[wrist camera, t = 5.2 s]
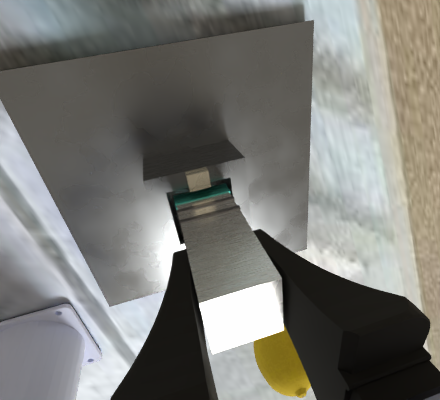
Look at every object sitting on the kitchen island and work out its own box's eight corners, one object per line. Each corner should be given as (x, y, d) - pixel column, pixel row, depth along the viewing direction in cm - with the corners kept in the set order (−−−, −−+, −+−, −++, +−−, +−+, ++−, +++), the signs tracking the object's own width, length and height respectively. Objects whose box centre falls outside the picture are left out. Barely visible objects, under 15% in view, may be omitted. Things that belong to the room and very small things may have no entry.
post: (183, 236, 18) (211, 355, 11) (172, 194, 16) (196, 302, 9) (230, 224, 18) (285, 330, 11) (224, 181, 16) (283, 276, 10)
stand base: (110, 297, 24) (104, 352, 20) (-5, 71, 15) (-65, 82, 10) (301, 242, 26) (332, 280, 22) (305, 21, 17) (360, 12, 13)
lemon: (236, 336, 31) (263, 417, 24) (255, 300, 29) (291, 378, 22) (277, 336, 33) (312, 411, 26) (298, 303, 31) (342, 375, 24)
